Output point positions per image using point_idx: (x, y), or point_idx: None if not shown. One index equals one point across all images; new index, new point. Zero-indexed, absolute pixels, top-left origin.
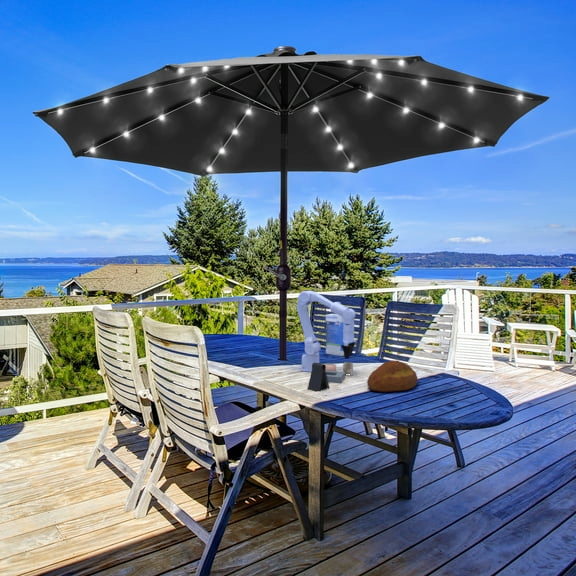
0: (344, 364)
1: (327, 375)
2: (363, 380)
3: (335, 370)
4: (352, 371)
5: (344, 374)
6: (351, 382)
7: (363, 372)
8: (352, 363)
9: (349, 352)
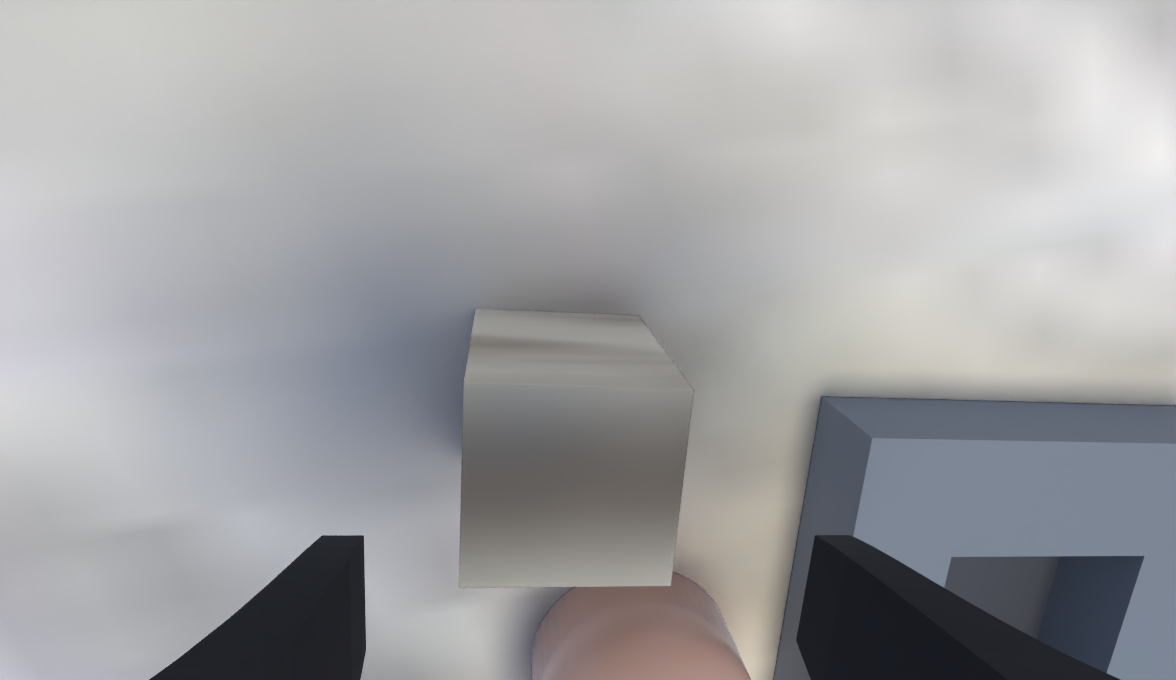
0: (671, 548)
1: (1153, 657)
2: (962, 51)
3: (688, 624)
4: (526, 325)
5: (928, 427)
6: (1112, 253)
7: (276, 101)
8: (554, 384)
9: (1067, 663)
